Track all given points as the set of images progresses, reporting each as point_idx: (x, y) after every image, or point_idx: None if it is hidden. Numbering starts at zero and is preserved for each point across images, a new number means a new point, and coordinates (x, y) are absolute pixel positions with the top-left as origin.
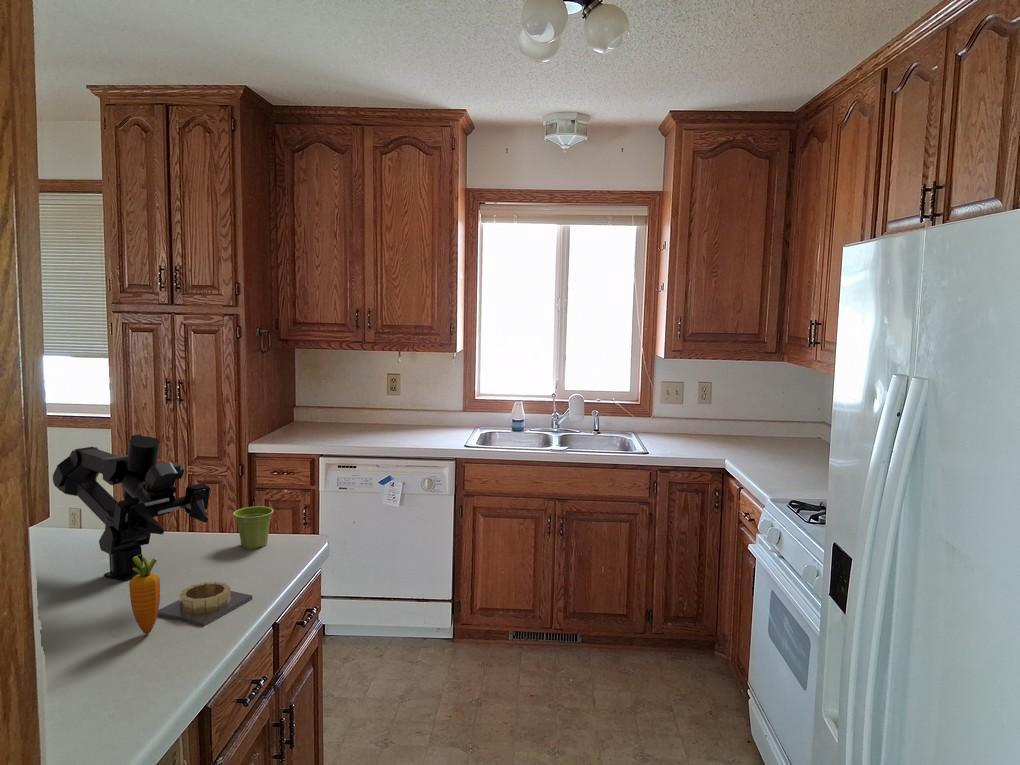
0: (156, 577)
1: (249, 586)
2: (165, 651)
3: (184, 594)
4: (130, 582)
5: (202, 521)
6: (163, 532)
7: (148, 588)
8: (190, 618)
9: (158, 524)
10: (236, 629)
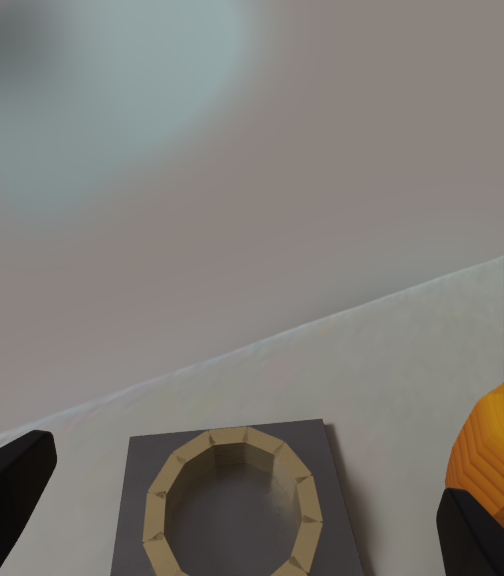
0: (499, 388)
1: (34, 536)
2: (446, 399)
3: (295, 556)
4: None
5: (31, 512)
6: (441, 503)
7: None
8: (332, 468)
9: (499, 552)
10: (285, 355)
